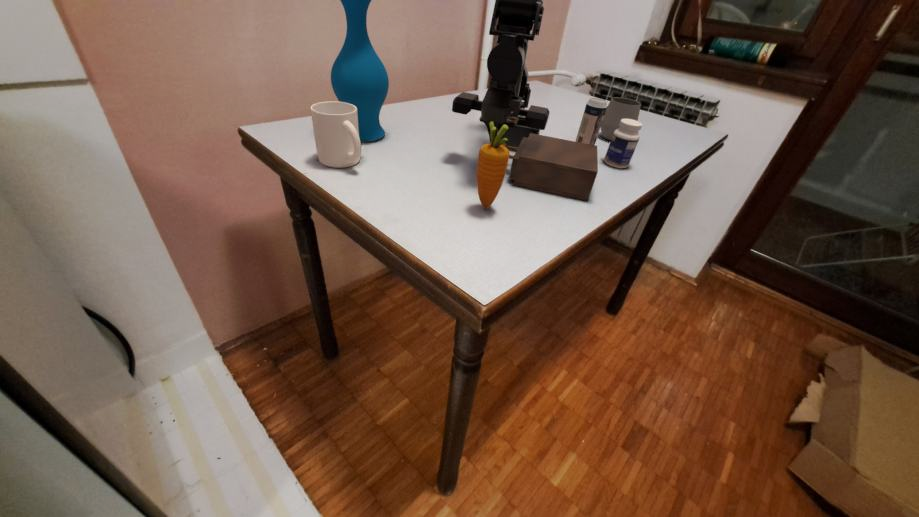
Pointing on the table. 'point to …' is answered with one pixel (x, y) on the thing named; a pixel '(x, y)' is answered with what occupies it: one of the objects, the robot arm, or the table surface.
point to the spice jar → (591, 121)
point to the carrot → (492, 166)
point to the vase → (360, 72)
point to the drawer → (515, 156)
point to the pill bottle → (623, 143)
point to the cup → (618, 114)
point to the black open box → (518, 133)
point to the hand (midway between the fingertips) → (493, 151)
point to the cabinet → (557, 166)
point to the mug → (336, 133)
